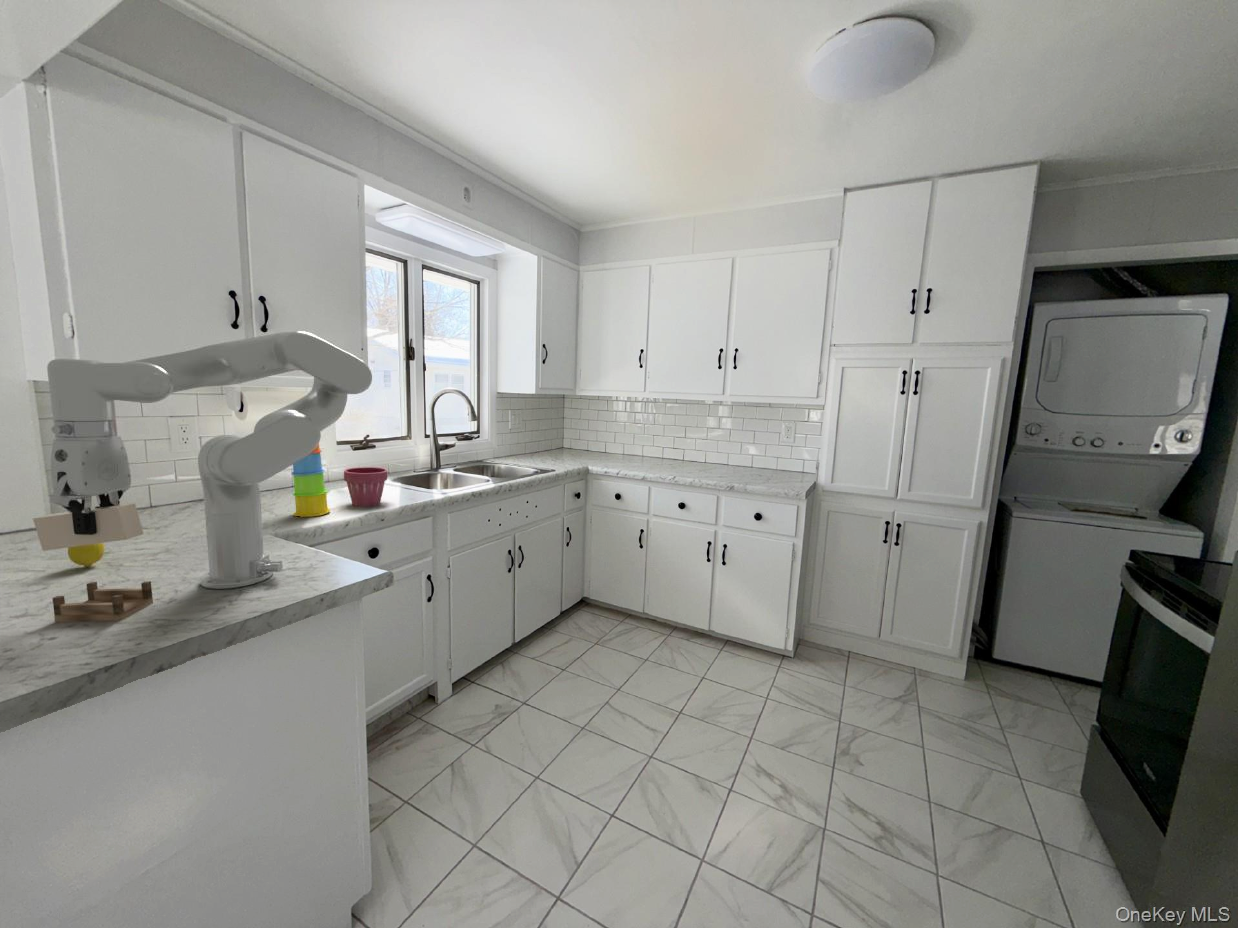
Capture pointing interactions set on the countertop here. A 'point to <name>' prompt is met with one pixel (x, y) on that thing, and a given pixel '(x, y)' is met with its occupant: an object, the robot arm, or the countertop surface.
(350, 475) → the plant pot
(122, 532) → the clay bar
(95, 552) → the lemon
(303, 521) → the countertop surface
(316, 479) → the stacking cups
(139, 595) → the rack
